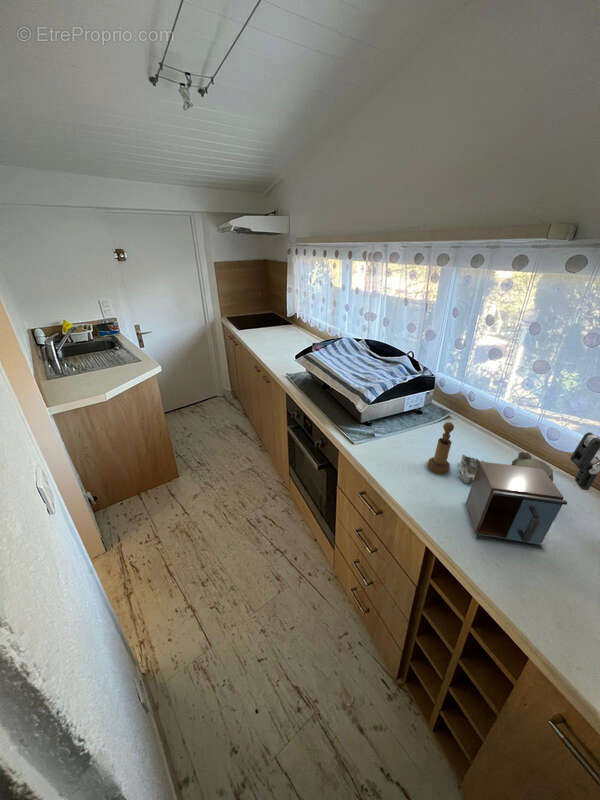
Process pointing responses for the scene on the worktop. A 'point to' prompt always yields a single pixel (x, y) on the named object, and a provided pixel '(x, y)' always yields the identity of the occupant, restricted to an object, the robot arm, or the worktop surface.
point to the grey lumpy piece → (468, 468)
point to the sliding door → (532, 521)
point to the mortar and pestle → (442, 452)
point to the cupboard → (506, 498)
